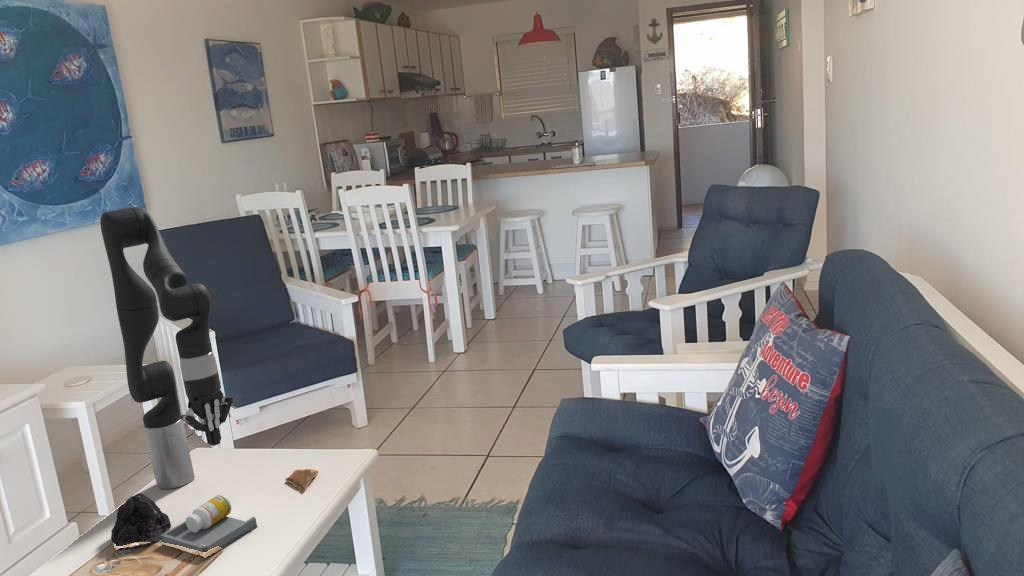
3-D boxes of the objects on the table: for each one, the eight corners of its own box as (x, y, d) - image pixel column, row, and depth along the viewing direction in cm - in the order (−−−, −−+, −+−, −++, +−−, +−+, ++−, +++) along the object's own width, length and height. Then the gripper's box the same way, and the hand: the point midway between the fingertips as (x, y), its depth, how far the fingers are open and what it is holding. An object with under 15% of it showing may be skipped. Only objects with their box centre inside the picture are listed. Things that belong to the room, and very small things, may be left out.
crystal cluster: (146, 556, 176) (142, 514, 174) (95, 550, 179) (90, 509, 177) (184, 529, 189) (181, 490, 187) (135, 524, 192) (132, 485, 190)
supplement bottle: (222, 517, 189) (190, 538, 181) (211, 497, 189) (179, 517, 181) (235, 510, 187) (204, 532, 178) (224, 491, 187) (192, 511, 178)
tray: (162, 544, 179) (160, 535, 178) (213, 515, 190) (211, 506, 190) (206, 558, 170) (204, 548, 170) (257, 526, 182) (255, 517, 181)
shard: (305, 494, 197) (303, 487, 196) (276, 496, 198) (274, 489, 197) (320, 474, 207) (319, 468, 207) (292, 476, 208) (291, 469, 208)
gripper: (213, 362, 184) (227, 431, 188) (163, 381, 174) (179, 454, 177) (234, 364, 180) (248, 434, 184) (185, 384, 170) (201, 458, 173)
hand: (215, 444), depth 181 cm, fingers closed
